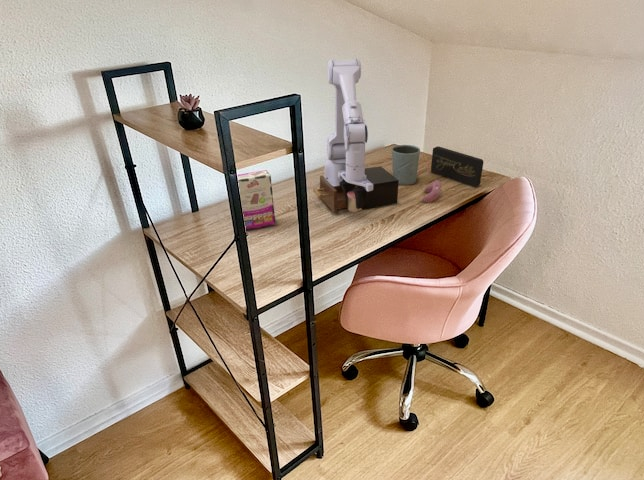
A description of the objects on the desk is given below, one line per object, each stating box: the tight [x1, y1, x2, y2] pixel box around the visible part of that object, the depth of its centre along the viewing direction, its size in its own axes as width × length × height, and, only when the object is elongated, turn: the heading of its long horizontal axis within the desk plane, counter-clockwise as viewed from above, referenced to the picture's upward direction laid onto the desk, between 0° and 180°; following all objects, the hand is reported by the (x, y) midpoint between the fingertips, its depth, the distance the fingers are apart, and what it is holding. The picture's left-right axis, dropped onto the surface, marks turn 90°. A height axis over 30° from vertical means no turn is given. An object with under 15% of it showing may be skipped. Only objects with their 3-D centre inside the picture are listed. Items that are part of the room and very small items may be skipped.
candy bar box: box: [237, 169, 276, 231], centre depth 148 cm, size 11×5×16 cm, turn 114°
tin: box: [347, 191, 362, 213], centre depth 154 cm, size 5×5×5 cm
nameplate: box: [430, 145, 484, 188], centre depth 181 cm, size 21×2×10 cm, turn 43°
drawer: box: [312, 175, 358, 215], centre depth 163 cm, size 16×14×8 cm
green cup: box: [391, 144, 421, 186], centre depth 179 cm, size 10×10×12 cm
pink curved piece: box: [422, 179, 443, 203], centre depth 168 cm, size 10×5×7 cm, turn 168°
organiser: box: [361, 165, 399, 211], centre depth 167 cm, size 13×14×8 cm
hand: (354, 205), depth 155 cm, fingers closed on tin, 4 cm apart
